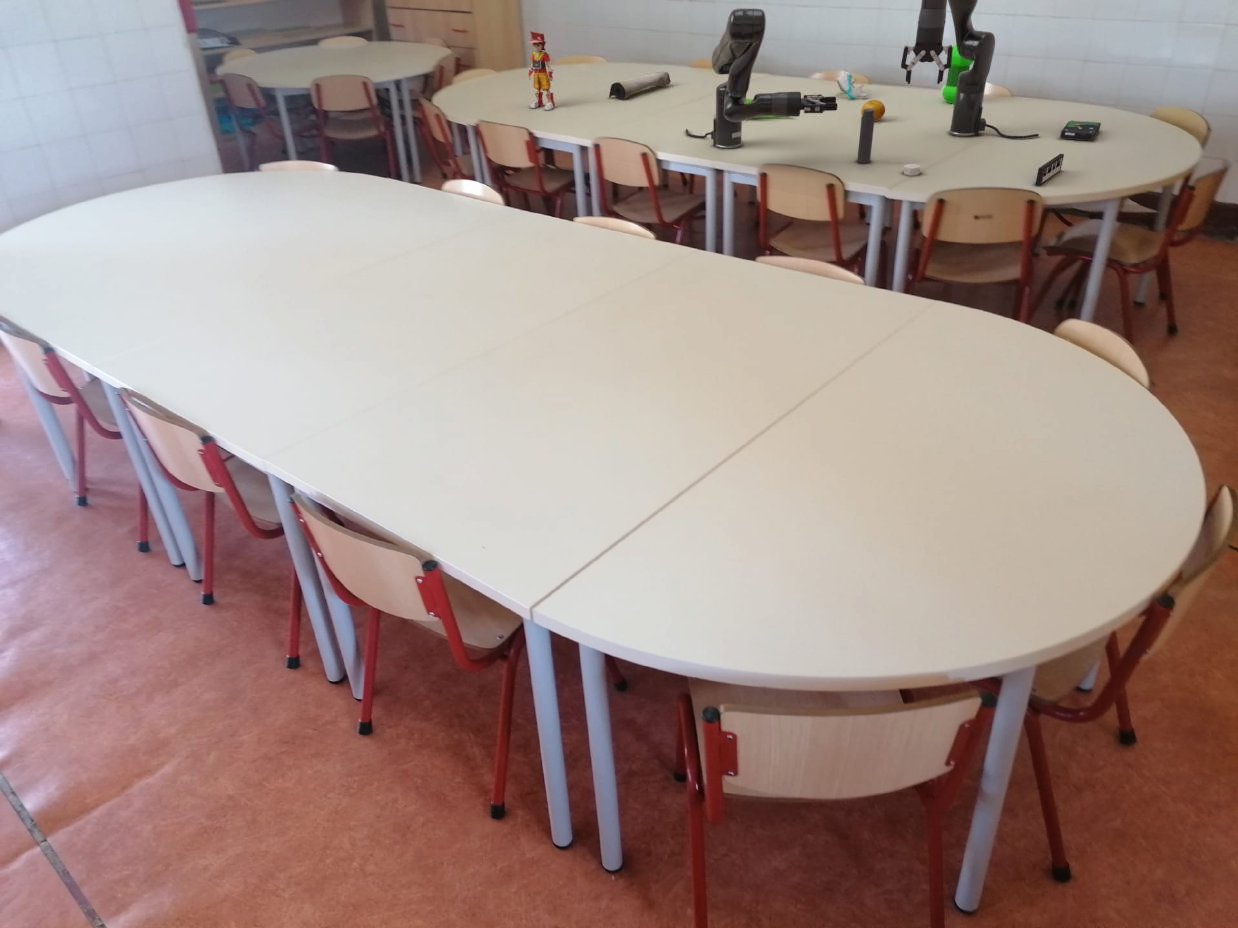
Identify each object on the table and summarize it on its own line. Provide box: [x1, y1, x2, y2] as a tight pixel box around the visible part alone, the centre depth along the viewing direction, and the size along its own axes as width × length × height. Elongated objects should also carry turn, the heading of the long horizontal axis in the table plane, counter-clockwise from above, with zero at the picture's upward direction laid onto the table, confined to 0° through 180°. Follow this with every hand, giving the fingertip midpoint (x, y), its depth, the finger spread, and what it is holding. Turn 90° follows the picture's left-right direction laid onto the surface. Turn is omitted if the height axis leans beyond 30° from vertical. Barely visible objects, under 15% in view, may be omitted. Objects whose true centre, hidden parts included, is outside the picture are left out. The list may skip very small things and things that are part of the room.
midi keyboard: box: [1035, 153, 1065, 186], centre depth 273 cm, size 18×1×5 cm, turn 138°
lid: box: [903, 163, 921, 177], centre depth 285 cm, size 5×5×2 cm
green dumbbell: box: [942, 43, 974, 104], centre depth 348 cm, size 10×10×25 cm
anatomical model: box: [836, 70, 868, 100], centre depth 369 cm, size 15×10×10 cm
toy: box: [527, 31, 556, 111], centre depth 374 cm, size 12×9×30 cm
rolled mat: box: [608, 71, 672, 101], centre depth 395 cm, size 30×9×10 cm
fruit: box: [860, 99, 886, 122], centre depth 337 cm, size 8×8×8 cm
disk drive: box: [1059, 120, 1102, 141], centre depth 309 cm, size 10×3×15 cm
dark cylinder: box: [856, 109, 875, 165], centre depth 293 cm, size 4×4×16 cm
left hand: (836, 103), depth 289 cm, fingers open, 8 cm apart
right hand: (923, 83), depth 270 cm, fingers open, 8 cm apart
